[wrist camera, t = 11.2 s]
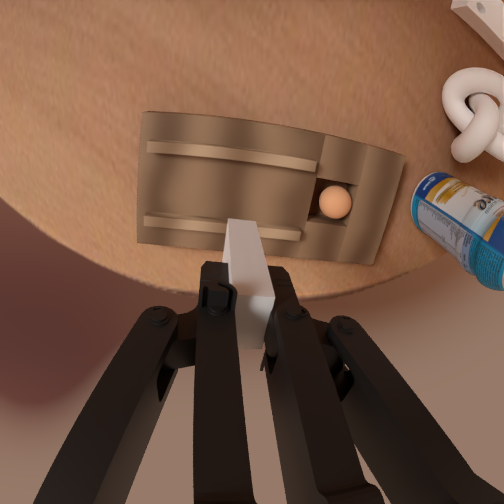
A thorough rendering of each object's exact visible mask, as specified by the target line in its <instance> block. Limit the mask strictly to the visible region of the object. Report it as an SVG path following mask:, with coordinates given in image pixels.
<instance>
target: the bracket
mask: <svg viewBox="0 0 504 504" xmlns="http://www.w3.org/2000/svg"><path fill="white" fill-rule="evenodd" d="M451 10H452V11H454V12H455V13H456V14H457V15H458V16H459V17H460V18H462V19H463V20H464V21H465V22H466V23H467V24H468V25H469V26H470V27H471V28H473V29H474V30H475V31H476V32H477V33H478V34H479V35H480V36H481V37H482V38H483V39H484V40H485V41H486V42H487V43H488V44H489V45H490V46H491V47H492V49H493V50H494V51H495V52H496V53H497V54H498V55H499V56H500V57H501V58H502V59H503V61H504V3H503V2H502V1H501V0H452V5H451Z"/></svg>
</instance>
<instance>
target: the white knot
mask: <svg viewBox="0 0 504 504" xmlns="http://www.w3.org/2000/svg"><path fill="white" fill-rule="evenodd" d="M479 92H482V93H479ZM483 93H487V94H490V95H492V96H494V97H496V98H497V99H498V100H499V102H500V105H499V107H498V106H497V105H496V103H495V102H494V101H493V100H492V99H491V98H490V97H489V96H487V95H486V94H483ZM470 94H471V96H470V98H469V107H470V108H471V110H472V112H471V111H470V110H469V109H468V108H467V106H466V104H465V98H466V97H467V96H468V95H470ZM442 104H443V108H444V110H445V112H446V114H447V116H448V118H449V119H450V120H451V122H452V123H453V124H454V125H455V126H456V127H457V128H458V129H459V130H460V131H461V132H462V133H461V134H460V135H458V136H457V137H456V138H455V139H454V140H453V142H452V145H451V154H452V155H453V157H454V159H455V160H457V161H458V162H460V163H468V162H470V161H472V160H473V159H474V158H476V157H477V156H479V155H480V154H481V153H482V152H483V151H484V150H485V151H486V152H488V153H489V154H491V155H492V156H494V157H495V158H497V159H499V160H500V161H502V162H504V76H503V75H501V74H499V73H497V72H495V71H493V70H489V69H486V68H478V67H472V68H465V69H462V70H459V71H457V72H455V73H454V74H452V75H451V76H450V77H449V78H448V79H447V80H446V82H445V84H444V86H443V90H442Z"/></svg>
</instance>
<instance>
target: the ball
mask: <svg viewBox="0 0 504 504" xmlns="http://www.w3.org/2000/svg"><path fill="white" fill-rule="evenodd" d="M351 204H352V202H351V197H350V194H349V193H348V192H347V190H345V189H344V188H342V187H340V186H330V187H327V188H326V189H325V190H323V192H322V193H321V195H320V198H319V206H320V209H321V211H322V212H323V213H324V214H325V215H326V216H328V217H330V218H334V219H338V218H341V217H344V216H345V215H346V214H347V213H348V212H349V210H350V208H351Z"/></svg>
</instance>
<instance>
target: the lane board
mask: <svg viewBox="0 0 504 504" xmlns="http://www.w3.org/2000/svg"><path fill="white" fill-rule="evenodd" d="M405 157H406V156H403V155H401V154H398V153H396V152H393V151H390V150H386V149H383V148H379V147H376V146H372V145H368V144H365V143H361V142H357V141H353V140H349V139H345V138H341V137H337V136H332V135H328V134H324V133H319V132H314V131H310V130H305V129H299V128H294V127H289V126H283V125H278V124H272V123H265V122H259V121H252V120H245V119H238V118H230V117H221V116H212V115H201V114H189V113H175V112H157V111H147V112H143V113H142V123H141V134H140V147H139V164H138V187H137V243H143V244H153V245H164V246H174V247H185V248H195V249H206V250H217V251H224V245H225V237H226V230H227V222H228V218H229V219H239V220H249V221H256V224H257V228H258V232H259V236H260V239H261V243H262V247H263V251H264V255H270V256H280V257H291V258H302V259H313V260H323V261H334V262H345V263H356V264H367V265H373V262H374V259H375V256H376V254H377V251H378V248H379V245H380V242H381V239H382V236H383V233H384V230H385V227H386V224H387V221H388V218H389V214H390V211H391V208H392V205H393V201H394V198H395V194H396V191H397V187H398V184H399V180H400V176H401V173H402V169H403V165H404V161H405ZM316 178H323V179H329V180H334V181H339V182H344V183H348V187H347V192H348V193H349V194H350V197H351V202H352V204H351V208H350V210H349V212H348V213H347V214H346V215H345V216H344V217H341V218H338V219H334V218H330V217H328V216H322V215H315V214H308V213H309V209H310V205H311V200H312V196H313V191H314V187H315V183H316Z"/></svg>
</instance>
